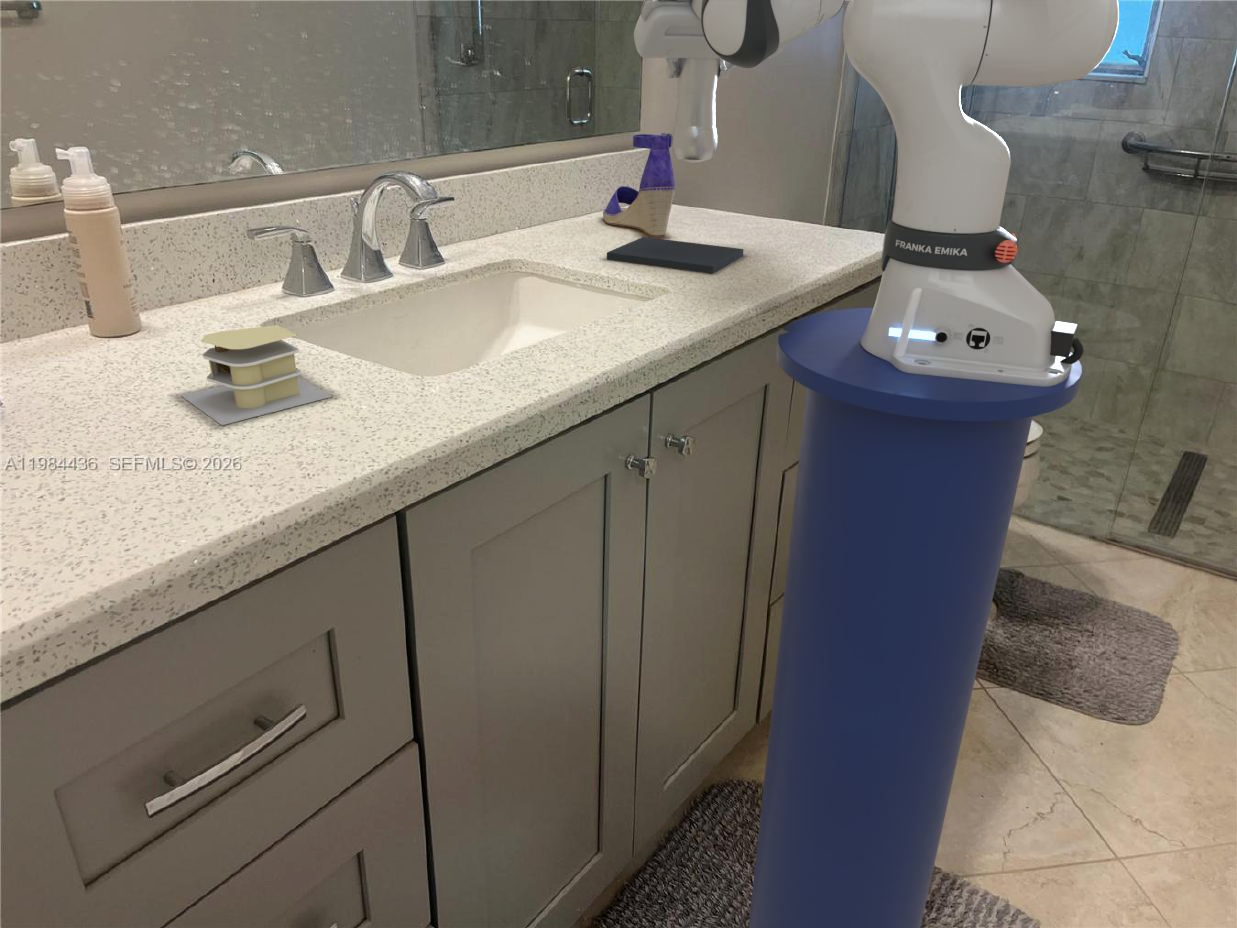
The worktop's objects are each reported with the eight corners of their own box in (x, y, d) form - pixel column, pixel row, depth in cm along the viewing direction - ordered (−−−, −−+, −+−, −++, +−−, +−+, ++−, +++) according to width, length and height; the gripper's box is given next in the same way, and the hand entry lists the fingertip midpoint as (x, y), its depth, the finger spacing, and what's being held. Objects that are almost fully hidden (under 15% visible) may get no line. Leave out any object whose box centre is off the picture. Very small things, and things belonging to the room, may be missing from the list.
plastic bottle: (721, 160, 137) (729, 6, 129) (710, 166, 131) (718, 5, 123) (678, 158, 139) (683, 6, 131) (665, 163, 133) (670, 5, 125)
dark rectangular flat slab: (743, 255, 137) (743, 249, 137) (712, 273, 127) (713, 266, 127) (643, 243, 143) (643, 236, 143) (606, 259, 134) (606, 252, 133)
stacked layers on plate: (287, 370, 91) (279, 315, 88) (332, 397, 85) (325, 337, 82) (180, 395, 84) (169, 336, 82) (222, 425, 79) (211, 362, 76)
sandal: (642, 214, 163) (645, 122, 157) (679, 239, 146) (683, 137, 140) (596, 216, 162) (597, 123, 155) (628, 241, 144) (630, 137, 138)
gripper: (651, 11, 115) (628, 93, 127) (806, 14, 120) (769, 92, 132) (641, -29, 117) (619, 56, 129) (795, -24, 122) (759, 57, 134)
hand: (696, 74), depth 131 cm, fingers closed on plastic bottle, 6 cm apart
